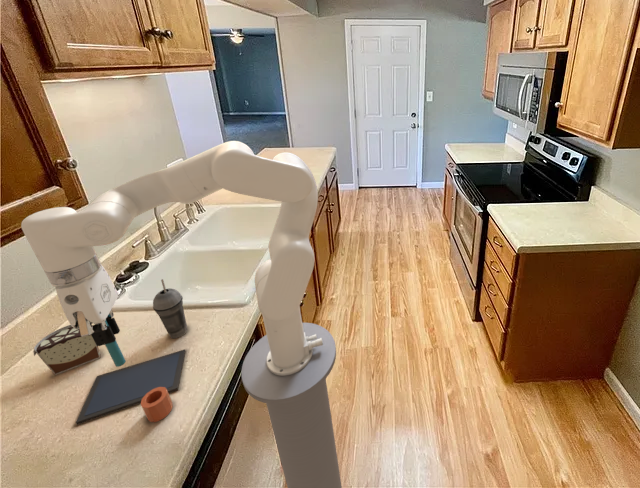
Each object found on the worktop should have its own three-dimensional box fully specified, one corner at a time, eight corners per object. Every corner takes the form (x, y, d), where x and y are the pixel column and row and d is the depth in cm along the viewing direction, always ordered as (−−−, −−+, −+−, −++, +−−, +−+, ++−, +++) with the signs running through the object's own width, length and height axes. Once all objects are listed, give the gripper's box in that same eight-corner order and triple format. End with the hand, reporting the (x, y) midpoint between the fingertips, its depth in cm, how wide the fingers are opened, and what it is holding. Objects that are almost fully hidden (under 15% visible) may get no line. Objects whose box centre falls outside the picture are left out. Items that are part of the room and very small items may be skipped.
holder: (174, 397, 81) (168, 383, 79) (170, 416, 77) (164, 401, 75) (150, 406, 79) (143, 391, 77) (145, 426, 75) (138, 411, 73)
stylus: (126, 358, 75) (105, 314, 71) (124, 365, 74) (102, 320, 69) (117, 361, 75) (95, 317, 70) (114, 368, 73) (91, 323, 68)
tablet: (185, 351, 94) (185, 348, 93) (178, 390, 83) (177, 387, 82) (98, 378, 86) (96, 375, 86) (76, 424, 75) (75, 422, 75)
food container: (109, 340, 98) (97, 314, 94) (107, 354, 93) (94, 327, 89) (52, 361, 91) (37, 334, 88) (47, 378, 87) (30, 349, 83)
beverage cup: (183, 320, 105) (165, 268, 97) (197, 327, 102) (180, 274, 94) (159, 337, 99) (138, 282, 91) (174, 345, 96) (153, 289, 88)
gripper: (81, 287, 59) (117, 361, 66) (112, 244, 73) (140, 309, 80) (26, 299, 57) (70, 375, 63) (69, 253, 70) (101, 319, 77)
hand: (108, 338), depth 72 cm, fingers closed on stylus, 1 cm apart
